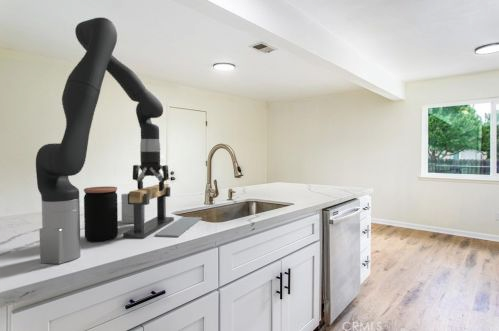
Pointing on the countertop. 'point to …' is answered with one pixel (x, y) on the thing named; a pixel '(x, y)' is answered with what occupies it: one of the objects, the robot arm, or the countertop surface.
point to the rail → (153, 191)
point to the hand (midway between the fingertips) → (150, 190)
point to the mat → (178, 227)
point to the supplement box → (128, 210)
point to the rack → (152, 225)
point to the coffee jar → (100, 214)
